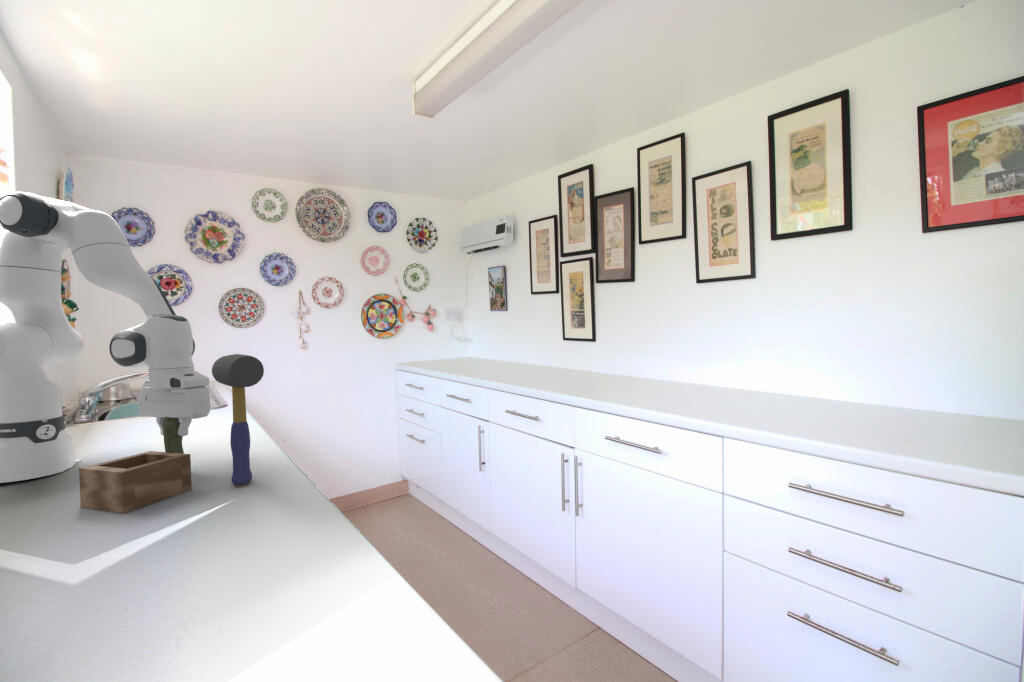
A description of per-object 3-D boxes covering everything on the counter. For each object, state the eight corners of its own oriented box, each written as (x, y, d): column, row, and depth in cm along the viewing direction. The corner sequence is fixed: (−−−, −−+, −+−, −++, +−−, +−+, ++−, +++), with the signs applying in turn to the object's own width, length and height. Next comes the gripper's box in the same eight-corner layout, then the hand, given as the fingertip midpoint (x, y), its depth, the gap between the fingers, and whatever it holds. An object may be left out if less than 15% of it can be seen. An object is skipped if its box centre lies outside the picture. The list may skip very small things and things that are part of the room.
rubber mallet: (271, 486, 96) (266, 353, 95) (233, 497, 90) (228, 355, 89) (249, 476, 104) (244, 353, 103) (213, 485, 98) (208, 354, 97)
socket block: (80, 507, 87) (78, 468, 87) (151, 485, 99) (150, 451, 99) (123, 513, 83) (121, 472, 83) (191, 489, 95) (190, 454, 95)
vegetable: (168, 479, 103) (164, 397, 103) (162, 476, 106) (159, 396, 105) (190, 474, 106) (186, 394, 106) (184, 471, 109) (181, 393, 109)
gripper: (129, 380, 106) (131, 436, 106) (188, 381, 100) (190, 440, 100) (157, 378, 112) (159, 430, 112) (214, 378, 106) (216, 434, 106)
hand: (174, 435), depth 106 cm, fingers closed on vegetable, 4 cm apart
